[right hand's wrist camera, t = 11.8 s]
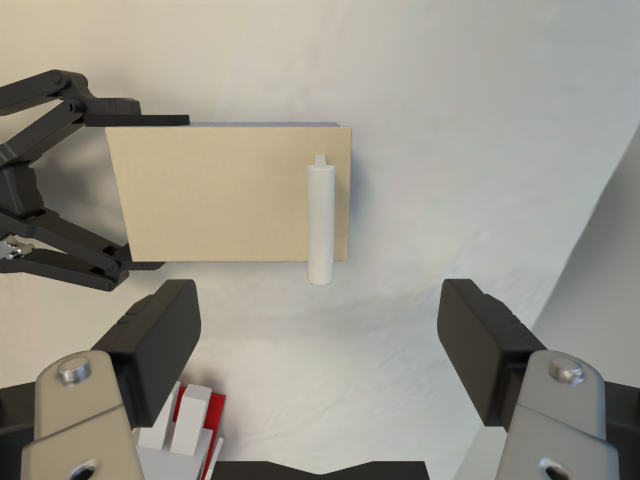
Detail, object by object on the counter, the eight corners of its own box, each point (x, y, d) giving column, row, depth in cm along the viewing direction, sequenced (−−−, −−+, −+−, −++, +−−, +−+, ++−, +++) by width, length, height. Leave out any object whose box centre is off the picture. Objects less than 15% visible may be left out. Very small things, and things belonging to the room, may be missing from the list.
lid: (350, 126, 24) (365, 133, 16) (347, 257, 27) (357, 311, 20) (111, 126, 24) (17, 133, 16) (137, 257, 27) (70, 312, 20)
